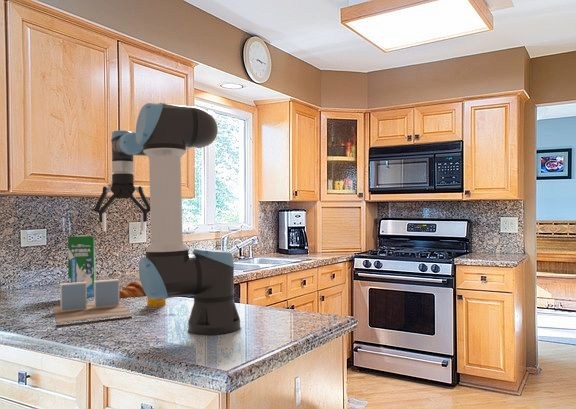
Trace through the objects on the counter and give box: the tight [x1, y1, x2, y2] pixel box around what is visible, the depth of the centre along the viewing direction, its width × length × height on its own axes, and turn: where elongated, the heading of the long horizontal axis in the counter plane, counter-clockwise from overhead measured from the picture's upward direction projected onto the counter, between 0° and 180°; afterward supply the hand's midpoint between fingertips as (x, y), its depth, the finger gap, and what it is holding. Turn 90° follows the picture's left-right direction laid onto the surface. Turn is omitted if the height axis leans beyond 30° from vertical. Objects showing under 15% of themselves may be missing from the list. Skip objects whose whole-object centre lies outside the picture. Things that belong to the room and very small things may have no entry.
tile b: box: [93, 278, 120, 308], centre depth 166 cm, size 3×8×9 cm, turn 118°
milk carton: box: [67, 235, 97, 299], centre depth 188 cm, size 9×9×25 cm
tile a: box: [59, 282, 88, 312], centre depth 161 cm, size 3×8×9 cm, turn 118°
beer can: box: [146, 295, 167, 308], centre depth 167 cm, size 6×6×15 cm
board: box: [52, 299, 133, 329], centre depth 160 cm, size 26×22×2 cm
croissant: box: [119, 281, 147, 299], centre depth 189 cm, size 21×10×8 cm, turn 142°
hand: (123, 231), depth 176 cm, fingers open, 13 cm apart
